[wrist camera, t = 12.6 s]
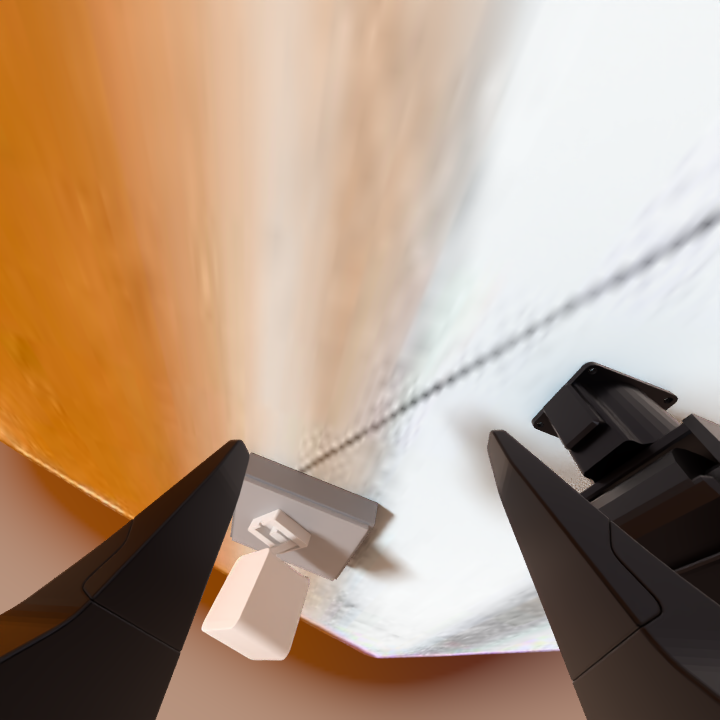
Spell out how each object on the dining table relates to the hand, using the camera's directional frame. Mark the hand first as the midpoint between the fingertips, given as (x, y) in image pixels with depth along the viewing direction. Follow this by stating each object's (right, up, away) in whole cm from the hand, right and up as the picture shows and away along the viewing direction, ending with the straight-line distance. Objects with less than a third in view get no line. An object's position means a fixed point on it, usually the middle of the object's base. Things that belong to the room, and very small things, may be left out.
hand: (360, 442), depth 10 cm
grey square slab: (-8, -17, +26) cm, 32 cm away
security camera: (-9, -18, +23) cm, 31 cm away
